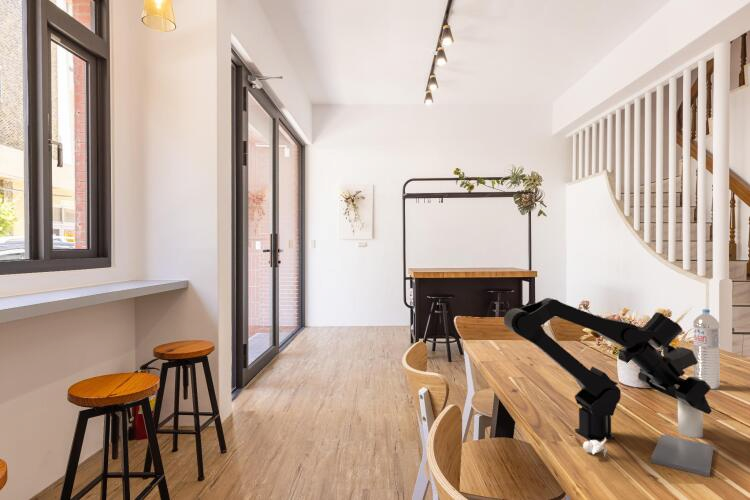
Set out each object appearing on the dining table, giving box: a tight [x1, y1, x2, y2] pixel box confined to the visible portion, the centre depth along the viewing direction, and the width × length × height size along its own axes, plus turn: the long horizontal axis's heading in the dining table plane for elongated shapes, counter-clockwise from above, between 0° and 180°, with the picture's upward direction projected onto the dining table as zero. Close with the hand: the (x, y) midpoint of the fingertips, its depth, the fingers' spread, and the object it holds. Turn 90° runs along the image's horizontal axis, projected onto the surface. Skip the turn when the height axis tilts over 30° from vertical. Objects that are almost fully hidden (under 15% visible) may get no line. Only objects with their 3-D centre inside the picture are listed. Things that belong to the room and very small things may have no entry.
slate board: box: [650, 433, 714, 477], centre depth 99 cm, size 16×10×1 cm, turn 141°
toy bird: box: [582, 437, 608, 457], centre depth 100 cm, size 8×5×5 cm, turn 159°
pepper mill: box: [677, 399, 704, 439], centre depth 111 cm, size 5×5×12 cm
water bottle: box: [693, 308, 721, 390], centre depth 148 cm, size 7×7×25 cm
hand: (695, 405), depth 111 cm, fingers open, 9 cm apart
